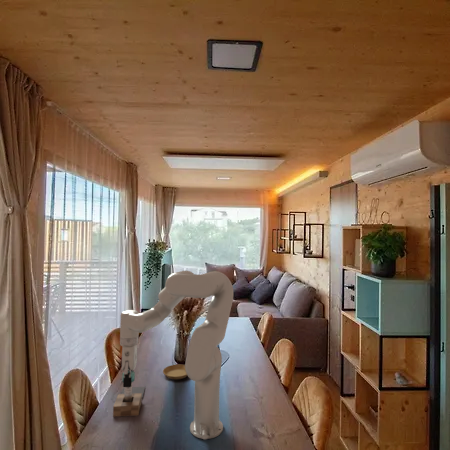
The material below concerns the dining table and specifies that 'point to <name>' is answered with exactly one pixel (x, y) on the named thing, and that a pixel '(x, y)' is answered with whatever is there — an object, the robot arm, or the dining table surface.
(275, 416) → the dining table surface
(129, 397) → the teal capped rod
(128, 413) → the eye block
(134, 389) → the rubber pad
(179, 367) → the plant saucer
